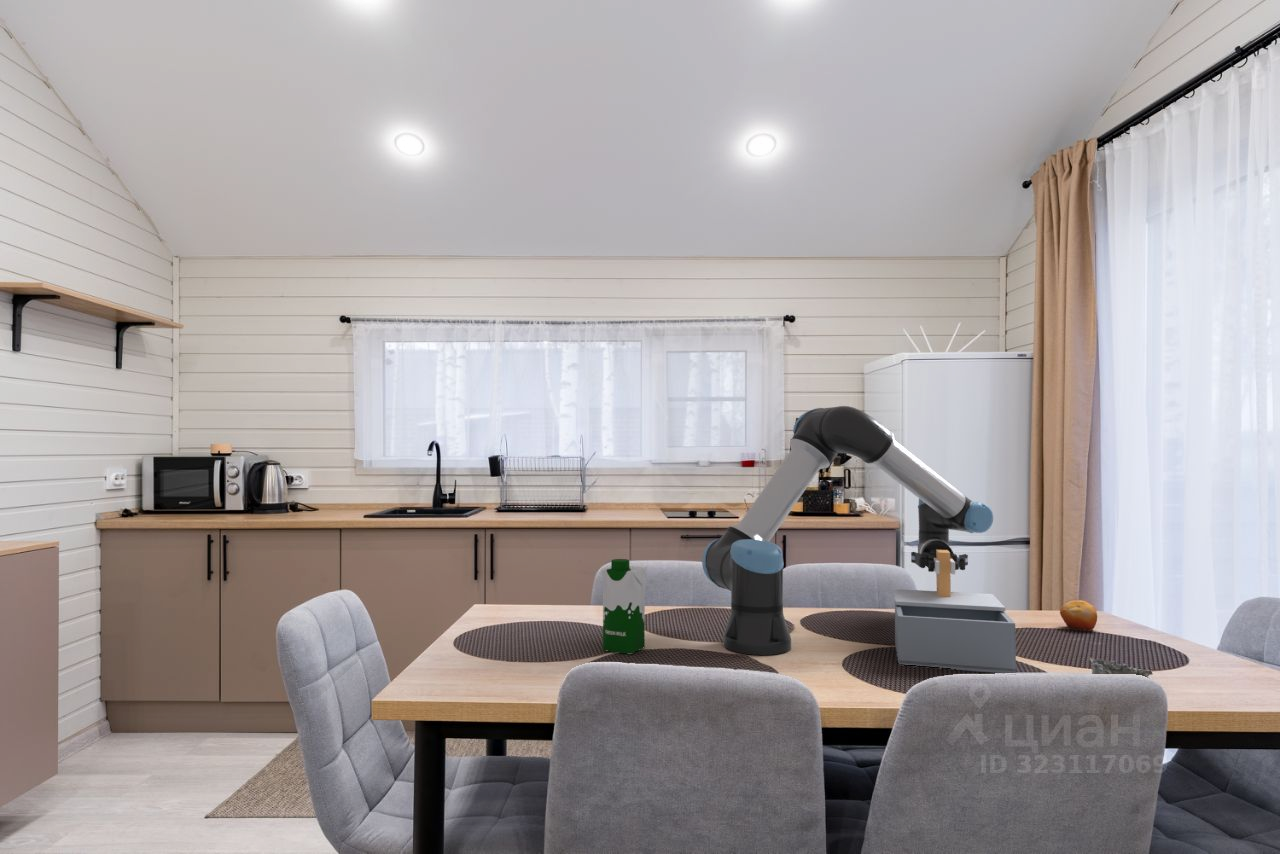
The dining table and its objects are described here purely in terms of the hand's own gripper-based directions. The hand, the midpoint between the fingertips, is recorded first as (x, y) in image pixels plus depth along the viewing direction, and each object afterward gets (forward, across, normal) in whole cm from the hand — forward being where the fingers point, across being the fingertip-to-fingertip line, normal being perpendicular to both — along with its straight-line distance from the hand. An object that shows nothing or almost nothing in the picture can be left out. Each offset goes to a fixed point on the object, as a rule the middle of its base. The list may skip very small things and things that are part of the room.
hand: (945, 567), depth 167 cm
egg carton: (+17, -29, -18) cm, 38 cm away
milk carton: (+23, +69, -18) cm, 75 cm away
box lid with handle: (-1, 0, -7) cm, 7 cm away
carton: (+9, 0, -18) cm, 20 cm away
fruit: (-31, -34, -18) cm, 49 cm away
